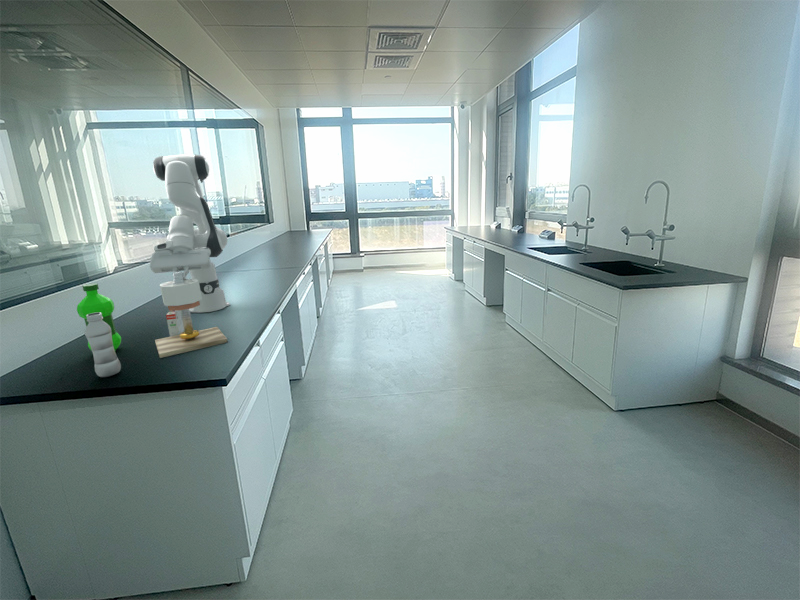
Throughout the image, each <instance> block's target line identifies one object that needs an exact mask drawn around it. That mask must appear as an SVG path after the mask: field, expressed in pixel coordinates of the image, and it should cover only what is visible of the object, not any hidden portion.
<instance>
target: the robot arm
mask: <svg viewBox="0 0 800 600" xmlns="http://www.w3.org/2000/svg"><path fill="white" fill-rule="evenodd" d="M152 161H153V162H152V163H153V164H152V170H153V172H154V173H153V174H155V176H156V178H157V179H158V180H160V181H162V182H163V181H164V182H165V183H164V185H165V191H166V196H167V199H168V201H169V202H170V203H171V204H172V205H174V206H175V207H177V208H178V211H179V212H178V213H179V215H174V216H172V218H170V222H169V227H168V235H167V236H166V240H165V242H163V243H160V244H156V245H154V246H153V249H154V252H153V253H152V254H151V256H150V260H149V261H150V262H149V268H150V270H151V271H152V273H153V274H161V273H171V272H172V273H174V272H182V274H183V279H187V275H188V274H189V273H190V279H197V280H198V281H199V285H200V290H201V296H202V300H200V301H199V302H200V305H199V306H196V307H194V308H191V309H189V310H190V314H191V313H210V312H216V311H220V310H223V309H225V308H226V307H228V306H231V303H230V302H228V301H227V300H226V299H227V298H226V295H225V292H224V289H222V288H221V287H220V281H219V279H218V275H217V269H216V266H215V263H214V262H213V261H211V258H218V257H219V256H220V255H221V254H222V253H223V251H224V249H225V248H226V247H227V243H228V236H227V234H226V232H225V231H224V230H223V229H221V228H220V227H218V226H217V225H216V224H215V222H214V218H213V216H212V213H211V210H210V207H209V205H208V203H207V201H206V199H205V197H204V195H203V191H202V188H201V185H200V183H201V184H203V183H204V181H206V180H207V178H208V177H209V175H210V165H209V163H208V161H207V160H206V157H205V156H204V155H201V154H181V153H180V154H175V155H174V154H172V155H166V156H164V155H161V156H157V157H155V158H154V159H153V160H152ZM199 180H200V181H199ZM194 225H196V226H197V228H195V227H194Z"/></svg>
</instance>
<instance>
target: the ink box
mask: <svg viewBox="0 0 800 600" xmlns="http://www.w3.org/2000/svg"><path fill="white" fill-rule="evenodd" d="M165 318H166V323H167V328H168V333H169V337H171V336H176V335H180V334H181V333H182V332H184V327H183V322H182V317H181V312H180V310H168V312H167V313H166V314H165Z"/></svg>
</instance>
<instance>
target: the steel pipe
mask: <svg viewBox="0 0 800 600" xmlns="http://www.w3.org/2000/svg"><path fill="white" fill-rule="evenodd" d="M182 273H183V271H179V272H172V276H173V281H174V283H175V284H180V283H184V279H183V274H182ZM180 312H181V317H182V322H183V328H184V332H182V333H181V334H180V338H181V339H186V340H187V341H190V340H194V339H195V337H197V336H198V335H199V330H197V329H194V327H193V325H194V324H193V321H192V316H191V313H190V310H189V309H185V310H180Z"/></svg>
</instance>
